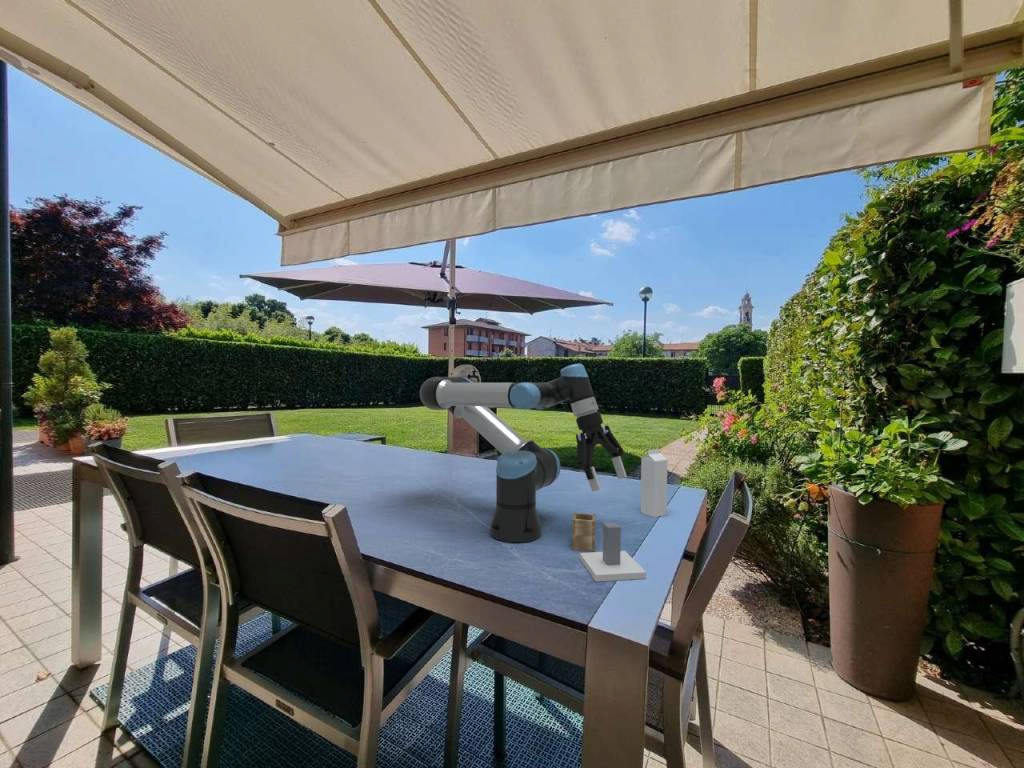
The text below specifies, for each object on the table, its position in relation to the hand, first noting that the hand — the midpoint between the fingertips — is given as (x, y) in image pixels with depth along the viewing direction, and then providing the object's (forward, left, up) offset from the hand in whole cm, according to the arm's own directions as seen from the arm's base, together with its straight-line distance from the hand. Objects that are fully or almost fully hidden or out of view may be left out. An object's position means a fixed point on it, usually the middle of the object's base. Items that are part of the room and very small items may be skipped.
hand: (610, 484), depth 122 cm
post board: (0, -22, -15) cm, 26 cm away
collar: (-7, -10, -15) cm, 19 cm away
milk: (+15, +23, -15) cm, 32 cm away
